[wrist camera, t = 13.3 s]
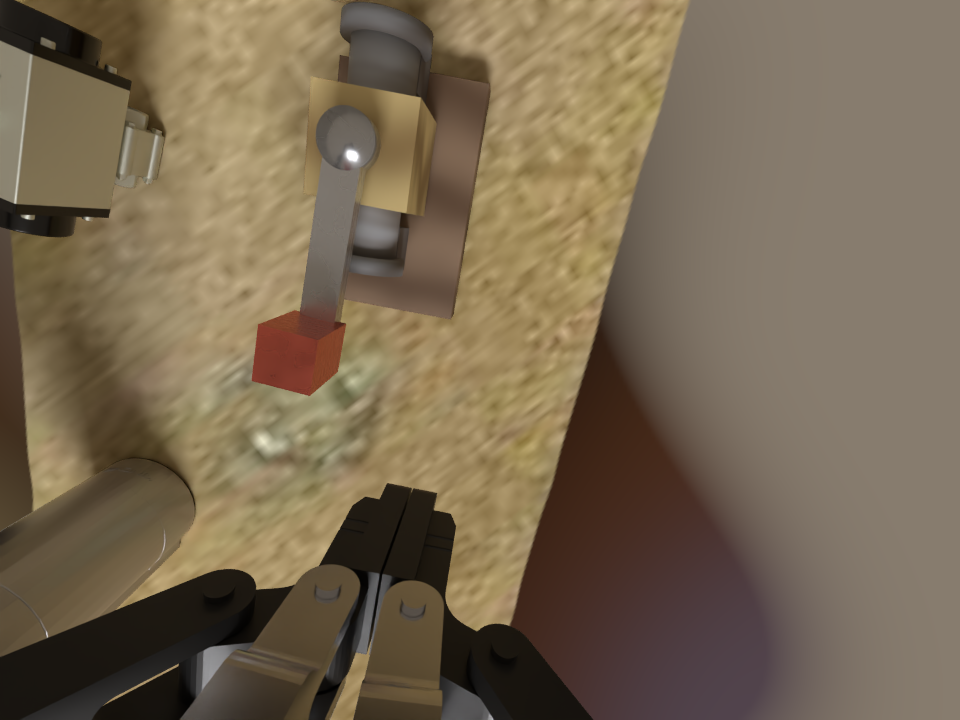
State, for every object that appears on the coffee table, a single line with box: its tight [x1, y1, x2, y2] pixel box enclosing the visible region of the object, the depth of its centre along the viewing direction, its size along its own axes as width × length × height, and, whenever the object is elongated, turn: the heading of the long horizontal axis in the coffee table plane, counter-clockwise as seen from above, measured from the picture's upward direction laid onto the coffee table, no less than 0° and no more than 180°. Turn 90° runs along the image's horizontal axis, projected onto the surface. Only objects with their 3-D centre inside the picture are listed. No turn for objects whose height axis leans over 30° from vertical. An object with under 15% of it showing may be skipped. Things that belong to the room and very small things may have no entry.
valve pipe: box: [303, 2, 490, 319], centre depth 29 cm, size 17×10×10 cm, turn 170°
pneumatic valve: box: [0, 0, 165, 237], centre depth 28 cm, size 6×12×12 cm, turn 157°
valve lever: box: [252, 105, 381, 396], centre depth 23 cm, size 14×3×5 cm, turn 166°
